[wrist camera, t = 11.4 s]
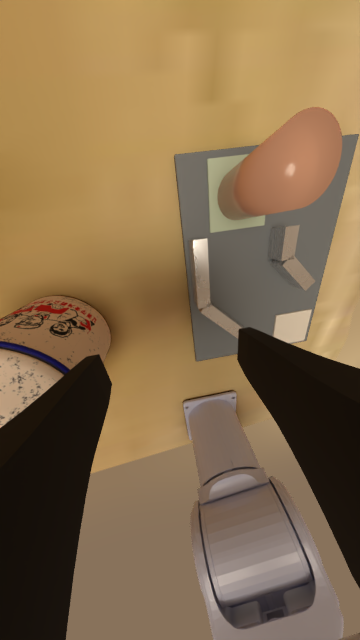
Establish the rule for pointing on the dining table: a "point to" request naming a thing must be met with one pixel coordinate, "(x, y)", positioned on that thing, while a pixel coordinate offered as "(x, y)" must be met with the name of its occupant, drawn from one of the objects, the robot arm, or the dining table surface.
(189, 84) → the dining table surface
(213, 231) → the board
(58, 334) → the teacup with lid
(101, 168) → the dining table surface
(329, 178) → the peg
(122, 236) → the dining table surface
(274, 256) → the rails
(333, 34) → the dining table surface
